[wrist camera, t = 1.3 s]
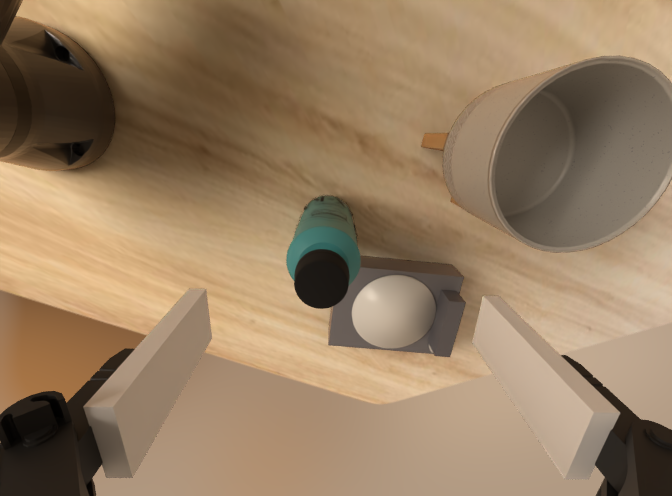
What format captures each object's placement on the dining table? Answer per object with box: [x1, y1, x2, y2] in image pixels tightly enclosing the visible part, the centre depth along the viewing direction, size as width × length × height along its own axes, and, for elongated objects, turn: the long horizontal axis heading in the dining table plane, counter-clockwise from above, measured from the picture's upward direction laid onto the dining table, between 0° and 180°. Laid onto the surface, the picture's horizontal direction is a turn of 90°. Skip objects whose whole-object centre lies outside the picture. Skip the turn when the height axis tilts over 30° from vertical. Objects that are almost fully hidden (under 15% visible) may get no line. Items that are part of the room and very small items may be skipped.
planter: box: [421, 56, 672, 253], centre depth 30 cm, size 13×13×18 cm
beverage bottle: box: [286, 195, 361, 309], centre depth 31 cm, size 6×7×20 cm
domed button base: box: [328, 256, 466, 357], centre depth 41 cm, size 16×12×7 cm
